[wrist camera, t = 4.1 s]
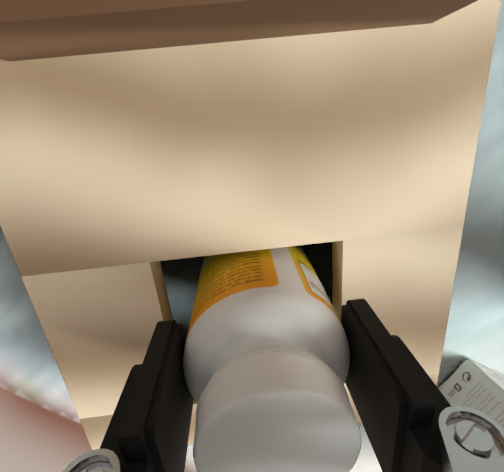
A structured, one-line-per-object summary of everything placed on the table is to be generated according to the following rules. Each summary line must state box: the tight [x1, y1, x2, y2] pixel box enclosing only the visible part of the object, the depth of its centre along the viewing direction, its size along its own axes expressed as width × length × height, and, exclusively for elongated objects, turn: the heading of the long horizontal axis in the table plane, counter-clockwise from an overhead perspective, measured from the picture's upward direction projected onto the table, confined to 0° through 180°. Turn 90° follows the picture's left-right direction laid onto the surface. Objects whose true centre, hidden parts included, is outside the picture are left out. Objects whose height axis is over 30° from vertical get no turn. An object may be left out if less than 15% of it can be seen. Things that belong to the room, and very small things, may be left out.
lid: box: [0, 0, 501, 450], centre depth 10 cm, size 20×16×4 cm
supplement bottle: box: [183, 245, 361, 472], centre depth 11 cm, size 5×5×10 cm
